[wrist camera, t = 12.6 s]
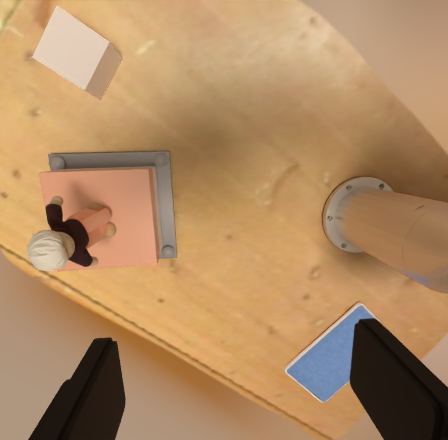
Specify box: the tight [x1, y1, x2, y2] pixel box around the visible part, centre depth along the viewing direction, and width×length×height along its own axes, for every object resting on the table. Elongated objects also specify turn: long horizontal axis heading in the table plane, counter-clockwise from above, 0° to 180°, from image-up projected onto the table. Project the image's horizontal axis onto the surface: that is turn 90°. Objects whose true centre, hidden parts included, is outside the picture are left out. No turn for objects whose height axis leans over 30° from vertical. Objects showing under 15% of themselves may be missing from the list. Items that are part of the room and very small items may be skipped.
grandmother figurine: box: [27, 196, 116, 271], centre depth 26 cm, size 8×4×13 cm, turn 33°
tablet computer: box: [284, 302, 388, 402], centre depth 52 cm, size 19×13×1 cm, turn 135°
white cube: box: [33, 6, 122, 100], centre depth 33 cm, size 6×6×6 cm
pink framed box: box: [39, 151, 177, 271], centre depth 36 cm, size 16×16×8 cm
